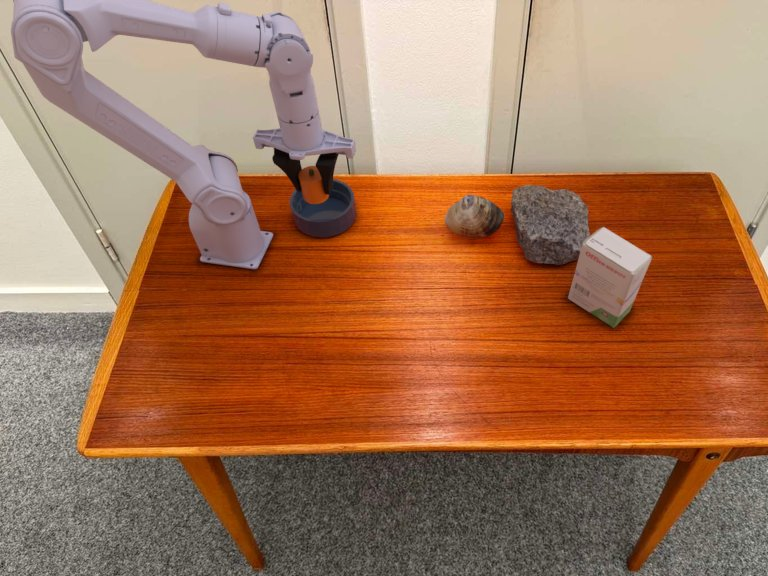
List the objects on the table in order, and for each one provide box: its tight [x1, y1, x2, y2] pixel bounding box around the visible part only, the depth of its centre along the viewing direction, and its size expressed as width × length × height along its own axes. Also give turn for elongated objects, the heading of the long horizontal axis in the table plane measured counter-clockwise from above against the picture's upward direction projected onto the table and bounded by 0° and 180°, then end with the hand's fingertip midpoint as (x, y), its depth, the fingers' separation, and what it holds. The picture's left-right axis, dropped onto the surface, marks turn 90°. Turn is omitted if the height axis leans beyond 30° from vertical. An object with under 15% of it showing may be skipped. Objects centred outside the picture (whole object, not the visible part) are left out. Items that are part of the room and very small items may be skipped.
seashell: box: [444, 194, 505, 240], centre depth 100 cm, size 10×6×8 cm, turn 87°
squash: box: [298, 165, 329, 204], centre depth 96 cm, size 4×4×5 cm
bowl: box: [289, 178, 358, 238], centre depth 104 cm, size 10×10×4 cm
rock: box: [510, 184, 591, 266], centre depth 101 cm, size 13×6×15 cm
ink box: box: [567, 226, 653, 329], centre depth 90 cm, size 9×5×12 cm, turn 47°
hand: (314, 188), depth 97 cm, fingers closed on squash, 4 cm apart
